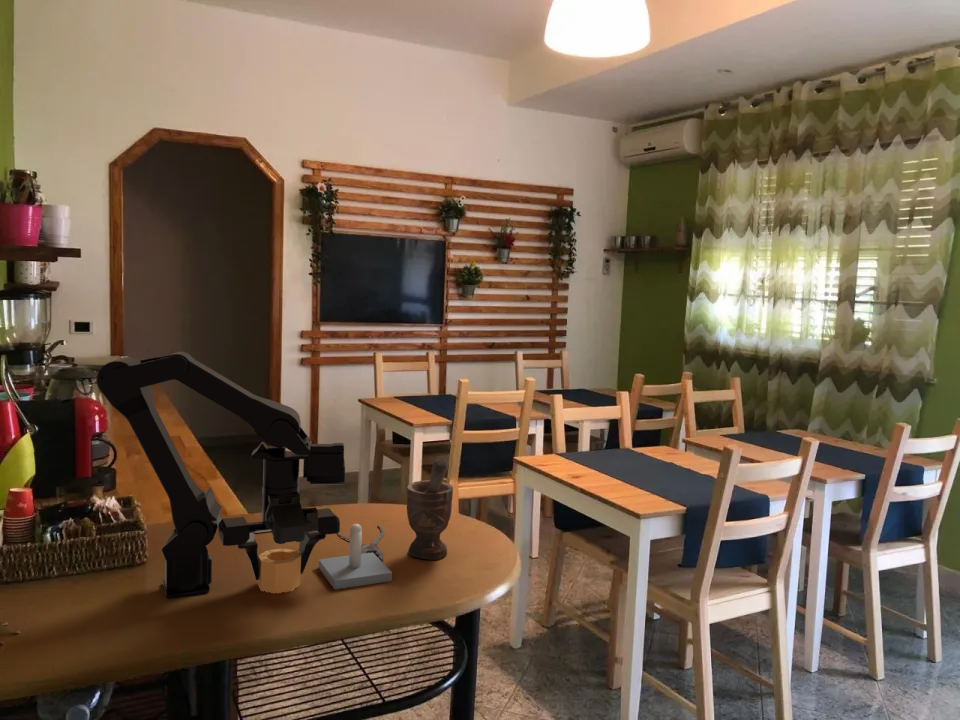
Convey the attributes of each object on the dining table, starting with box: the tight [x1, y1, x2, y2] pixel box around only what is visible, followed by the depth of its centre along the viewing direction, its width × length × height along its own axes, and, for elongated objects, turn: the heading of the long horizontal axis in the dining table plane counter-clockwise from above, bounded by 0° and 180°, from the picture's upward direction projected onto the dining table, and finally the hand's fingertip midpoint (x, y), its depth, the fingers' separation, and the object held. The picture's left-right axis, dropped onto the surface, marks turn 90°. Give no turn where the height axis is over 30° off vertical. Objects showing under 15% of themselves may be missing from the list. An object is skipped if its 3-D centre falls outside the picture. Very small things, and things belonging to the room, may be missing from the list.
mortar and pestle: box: [406, 457, 454, 561], centre depth 140 cm, size 12×9×20 cm
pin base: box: [318, 523, 393, 590], centre depth 130 cm, size 10×10×9 cm
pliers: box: [336, 524, 385, 561], centre depth 147 cm, size 10×1×20 cm
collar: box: [257, 547, 302, 594], centre depth 124 cm, size 6×6×5 cm
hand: (279, 576), depth 125 cm, fingers open, 7 cm apart
